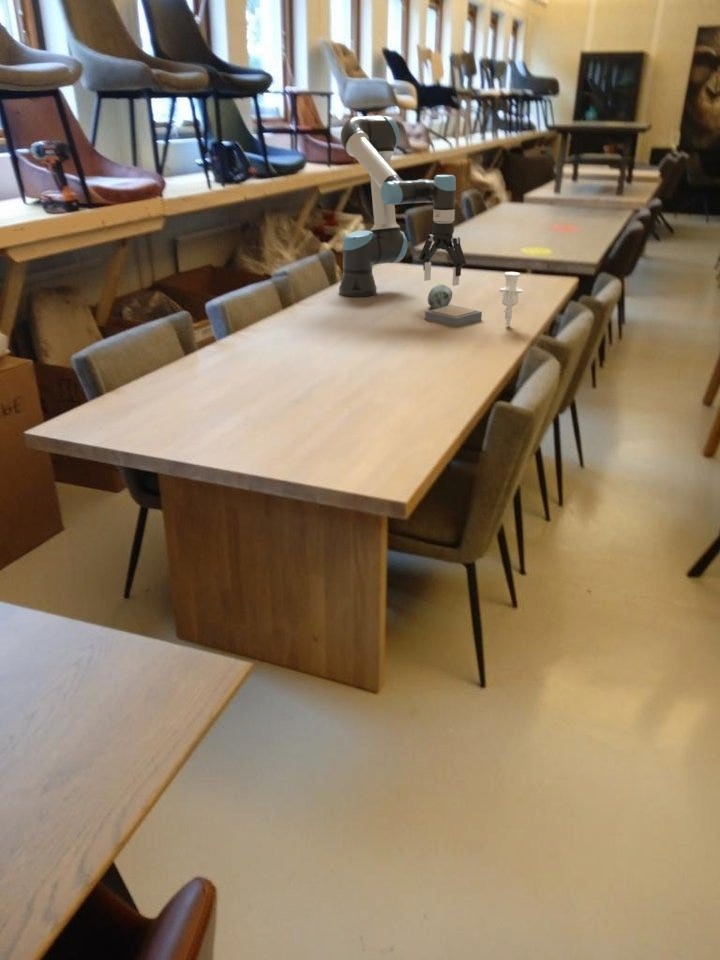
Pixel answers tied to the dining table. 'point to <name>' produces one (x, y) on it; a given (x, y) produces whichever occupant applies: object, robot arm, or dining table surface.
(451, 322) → the stand
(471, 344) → the dining table surface
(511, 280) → the figurine
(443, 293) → the grey streaked ellipsoid
